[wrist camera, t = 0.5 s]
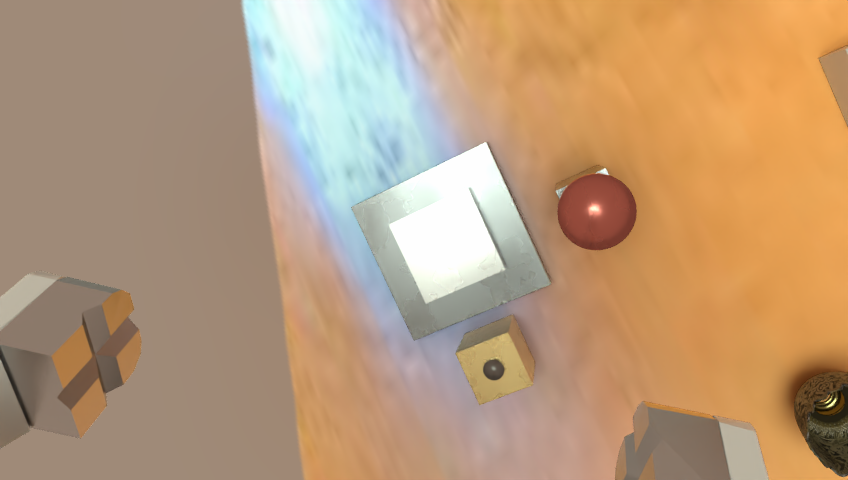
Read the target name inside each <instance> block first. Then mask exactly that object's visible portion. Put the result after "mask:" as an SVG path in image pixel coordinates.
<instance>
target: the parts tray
mask: <svg viewBox="0 0 848 480" xmlns="http://www.w3.org/2000/svg"><path fill="white" fill-rule="evenodd" d="M819 61H820V63H821V65H822V68H823V70H824V72H825V75H826V77H827V79H828V82H829V84H830V86H831V89H832V91H833V93H834V96H835V98H836V100H837V103H838V105H839V107H840V110H841V112H842V114H843V117H844V119H845V121H846V124H847V126H848V45H847V46H845V47H842V48H840V49H838V50H836V51H834V52H831V53H829V54H827V55H825V56H823V57H820V58H819Z"/></svg>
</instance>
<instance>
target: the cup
mask: <svg viewBox="0 0 848 480" xmlns="http://www.w3.org/2000/svg"><path fill="white" fill-rule="evenodd" d="M829 394H831V396H830V398H829V399H828V400H827V401H825V402H823V403H818V402H819V401H821V400H824V399H826V398H827V397H828V395H829ZM794 413H795V418H796V421H797V424H798V426H799V428H800V431H801V433H802V434H803V436H804V438H805V440H806V442H807V444H808V446H809V448H810V450H812V451H813V453H814V455H816V456H817V457H818V458H819V460H820V461H821V462H822V464H823V465H824V466H825V467H826V468H828V467H829V468H830V469H831V470H832V471H834V472H835V473H836V474H837V475H839V476H841V477H845V476H847V475H848V373H844V372H826V373H822V374H819V375H816V376H814V377H812V378H810V379H809V380H807V381H806V382H805V383H804V384H803V385H802V386H801V388H800V389H799V391H798V393H797V395H796V398H795V402H794Z"/></svg>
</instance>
